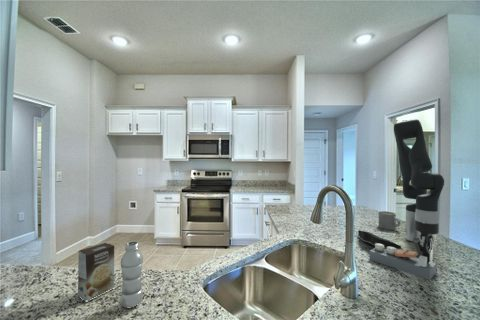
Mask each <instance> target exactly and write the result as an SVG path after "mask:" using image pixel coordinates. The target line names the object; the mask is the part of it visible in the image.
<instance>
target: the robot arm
mask: <svg viewBox="0 0 480 320" xmlns="http://www.w3.org/2000/svg"><path fill="white" fill-rule="evenodd" d="M393 134H394V138H395V142H396V146H397V153H398V163H399V169H400V173H401V181H402V182H401V183H402V184H401V185H402V195H403V198H405V199H409V200H415V202H414V203H410V204H406V205H405V240H407V241H410V242H412V243H414V238H419V240H420V242H419V241H418V245H419V248H420V251H421V252H422V256H425V257H427V262H431V253H432V250H433V247H434V242H435V237H434V236H433V235H437V234H439V231H440V229H439V224H440V223H439V221H440V216H439V200H440V196H441V194H442V191H443V188H444V185H445V179H444V177H443V175H441V173H437V172H430V171H431V170H432V169H433V164H432V161H431V159H430V155H429V153H428V150H427V146H426V145H427V144H426V139H425V133H424V129H423V126H422V123H421V121H420V120H419V119H418V118H414V119H408V120H403V121H399V122H396V123H394V124H393ZM414 138H415V141H414V143H413V145H412V147H410V146H409V145H408V144H407V143H406V142H405V141H404V140H408V139H414ZM428 190H429V191H428Z"/></svg>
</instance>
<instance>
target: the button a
mask: <svg viewBox="0 0 480 320" xmlns="http://www.w3.org/2000/svg"><path fill="white" fill-rule="evenodd" d="M374 248H375V250H377V251H384V245H383V244H379V243H376V244H375V245H374Z"/></svg>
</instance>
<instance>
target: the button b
mask: <svg viewBox="0 0 480 320" xmlns="http://www.w3.org/2000/svg"><path fill="white" fill-rule="evenodd" d="M386 249H387V253H388V254H391V255H395V253H396V252H397V251H398V249H396V248H394V247H387V248H386Z"/></svg>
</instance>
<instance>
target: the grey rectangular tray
mask: <svg viewBox="0 0 480 320" xmlns="http://www.w3.org/2000/svg"><path fill="white" fill-rule="evenodd" d="M371 259H372V260H371ZM369 260H371V261H373V262H376V261H377V263H379V264H382V265H386V266H387V267H391V268H393V267H394V268H393V269H397V270H399V271H402V272H404V273H408V274H410V273H411V274H410V275H413V274H414V276H416V275H417V276H416V277H419V278H422V279H426V280H429V281H430V279H431V280H432V278H433V277H434V276H435V275H436V273H437V263H435V262H432V261H430V262H427V266H426V267H422V266H419V257H415V258H410V257H401V256H395V255H391V254H388V253H387V248H384V251H377V250H375V247H374V248H372V249H370V250H369Z"/></svg>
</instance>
